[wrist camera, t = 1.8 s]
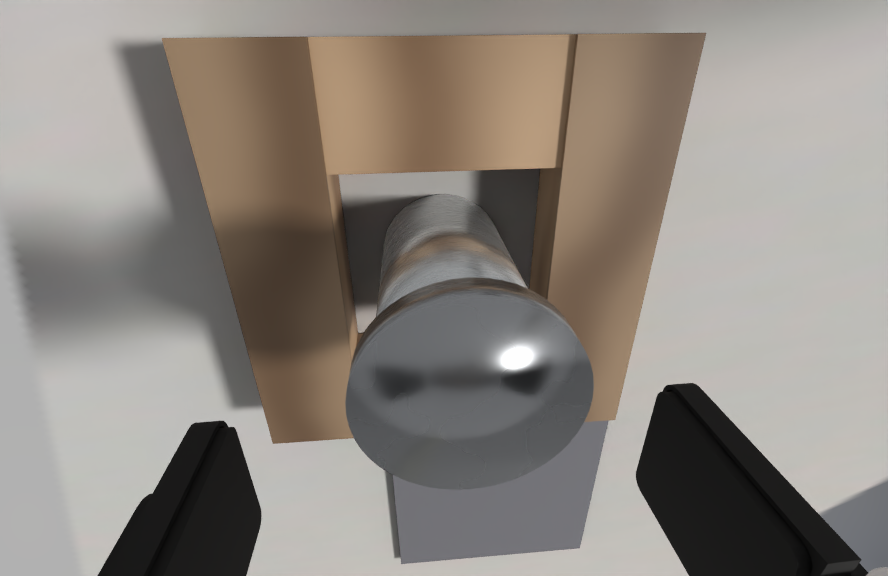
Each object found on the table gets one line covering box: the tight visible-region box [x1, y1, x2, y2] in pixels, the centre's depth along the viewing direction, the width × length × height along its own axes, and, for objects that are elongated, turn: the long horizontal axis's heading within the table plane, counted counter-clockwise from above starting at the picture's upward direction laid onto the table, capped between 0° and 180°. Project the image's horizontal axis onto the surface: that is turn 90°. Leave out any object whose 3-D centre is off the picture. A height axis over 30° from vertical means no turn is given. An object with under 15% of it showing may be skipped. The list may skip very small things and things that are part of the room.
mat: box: [393, 420, 608, 564], centre depth 27 cm, size 12×12×1 cm
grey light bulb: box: [345, 194, 594, 490], centre depth 15 cm, size 6×6×10 cm
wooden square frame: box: [162, 33, 706, 444], centre depth 18 cm, size 16×16×3 cm
